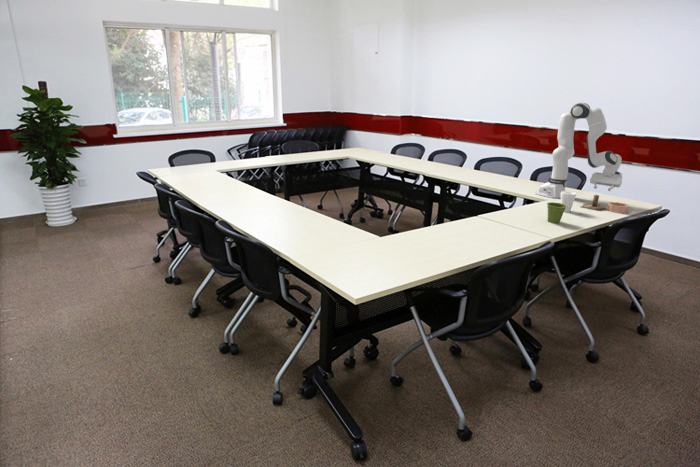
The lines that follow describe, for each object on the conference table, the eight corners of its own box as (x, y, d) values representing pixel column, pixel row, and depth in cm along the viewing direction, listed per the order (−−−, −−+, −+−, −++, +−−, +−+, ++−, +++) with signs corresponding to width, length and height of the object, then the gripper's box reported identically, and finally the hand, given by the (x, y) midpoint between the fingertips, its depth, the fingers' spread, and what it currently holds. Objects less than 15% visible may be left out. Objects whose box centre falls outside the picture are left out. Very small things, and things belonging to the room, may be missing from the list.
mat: (579, 207, 318) (579, 207, 318) (586, 204, 328) (586, 203, 328) (600, 211, 309) (600, 211, 309) (606, 208, 319) (606, 207, 318)
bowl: (605, 211, 312) (606, 204, 310) (610, 208, 320) (611, 201, 318) (624, 214, 304) (625, 207, 302) (629, 211, 312) (630, 204, 310)
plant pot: (549, 224, 277) (552, 207, 273) (540, 219, 288) (543, 202, 284) (567, 224, 278) (571, 207, 274) (557, 219, 289) (560, 202, 285)
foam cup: (574, 213, 303) (577, 194, 299) (559, 212, 305) (563, 193, 301) (570, 209, 312) (573, 191, 308) (556, 208, 314) (559, 190, 310)
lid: (580, 207, 318) (582, 195, 315) (587, 204, 327) (589, 192, 324) (601, 211, 309) (604, 198, 306) (607, 208, 318) (610, 195, 315)
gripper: (593, 169, 328) (586, 184, 324) (624, 173, 315) (617, 189, 311) (593, 174, 332) (587, 189, 329) (624, 178, 319) (617, 194, 315)
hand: (602, 189), depth 320 cm, fingers open, 8 cm apart
